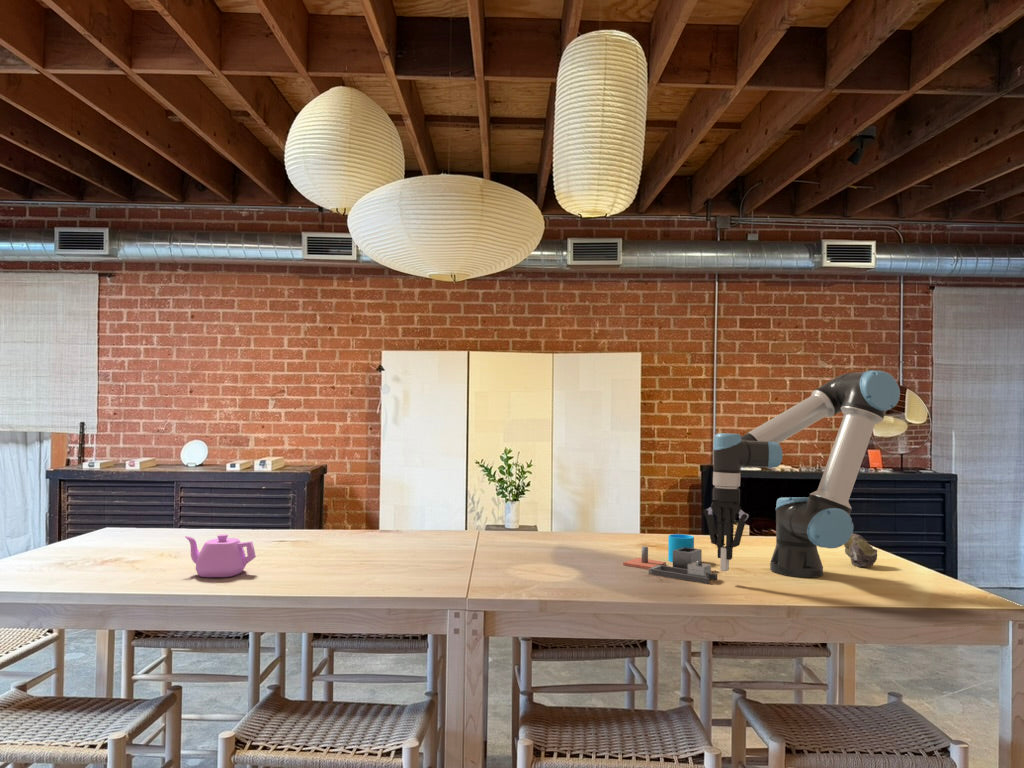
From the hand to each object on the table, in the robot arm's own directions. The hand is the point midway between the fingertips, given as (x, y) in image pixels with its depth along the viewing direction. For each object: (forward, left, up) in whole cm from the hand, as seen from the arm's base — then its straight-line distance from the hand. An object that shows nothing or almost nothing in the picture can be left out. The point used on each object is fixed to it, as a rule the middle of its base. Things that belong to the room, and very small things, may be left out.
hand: (724, 570), depth 194 cm
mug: (+24, -22, -4) cm, 33 cm away
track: (+13, 0, -4) cm, 13 cm away
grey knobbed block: (+8, 0, -4) cm, 9 cm away
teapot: (+115, +88, -4) cm, 144 cm away
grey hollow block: (+16, -10, -4) cm, 19 cm away
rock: (-24, -54, -4) cm, 60 cm away
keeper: (+29, -7, -4) cm, 30 cm away
